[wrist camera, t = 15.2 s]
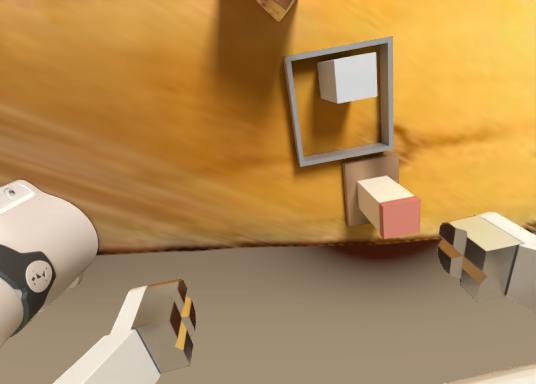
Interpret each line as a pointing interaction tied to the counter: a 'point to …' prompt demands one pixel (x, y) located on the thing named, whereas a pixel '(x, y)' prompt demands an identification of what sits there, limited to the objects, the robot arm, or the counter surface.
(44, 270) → the robot arm
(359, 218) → the walnut board
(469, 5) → the counter surface
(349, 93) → the tall white block
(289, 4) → the candy box
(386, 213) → the cream carton
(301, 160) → the grey square frame
